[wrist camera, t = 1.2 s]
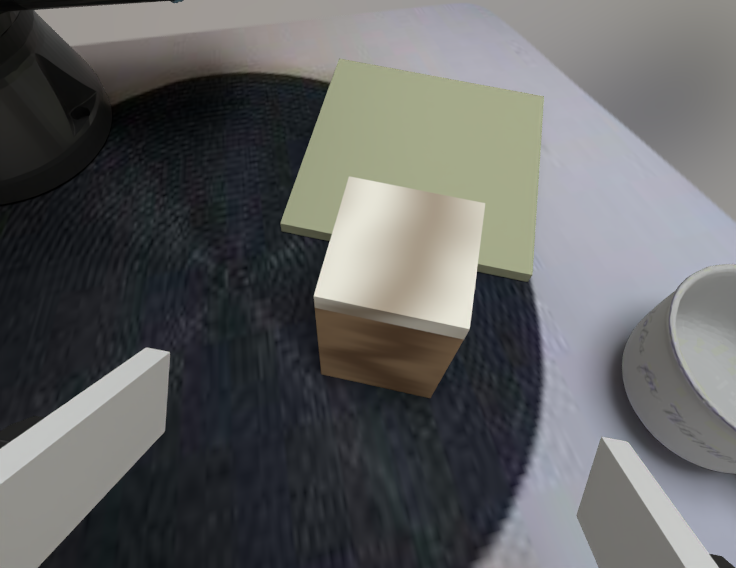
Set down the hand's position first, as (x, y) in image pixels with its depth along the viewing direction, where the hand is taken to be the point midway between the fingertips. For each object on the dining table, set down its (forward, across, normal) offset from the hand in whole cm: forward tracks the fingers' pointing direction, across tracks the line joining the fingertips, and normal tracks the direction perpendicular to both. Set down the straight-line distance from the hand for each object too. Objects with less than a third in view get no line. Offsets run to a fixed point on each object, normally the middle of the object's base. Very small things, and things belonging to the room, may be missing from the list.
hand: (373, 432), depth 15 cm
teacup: (+18, +20, -5) cm, 27 cm away
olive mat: (+28, 0, +8) cm, 30 cm away
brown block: (+18, 0, -4) cm, 18 cm away
